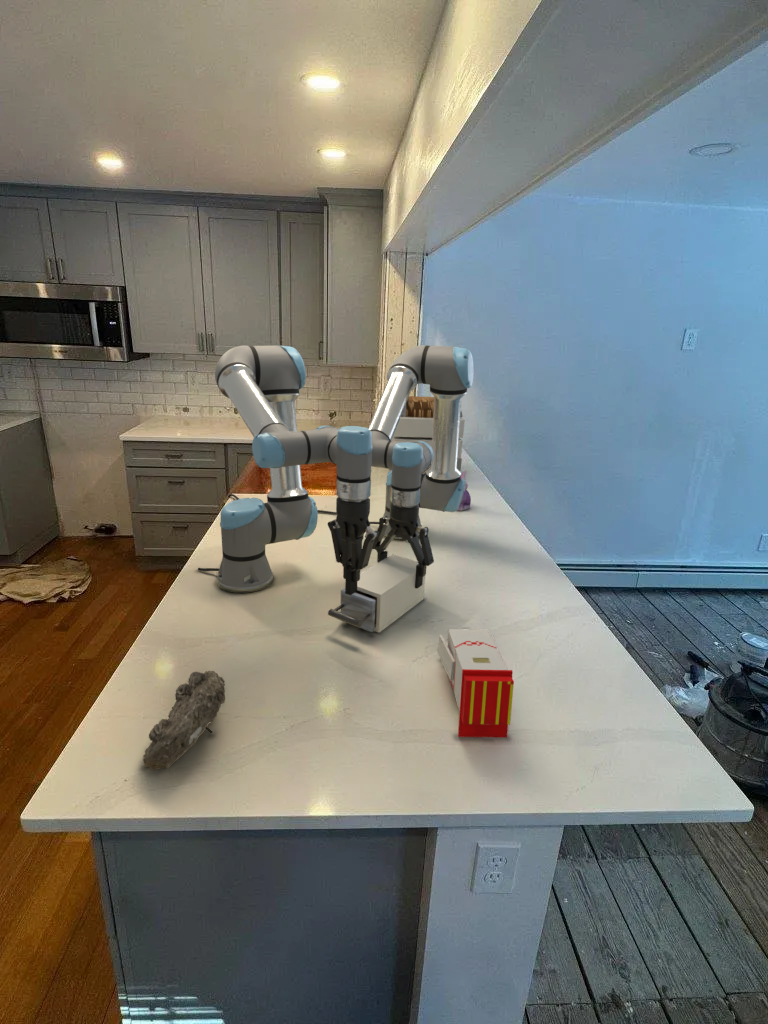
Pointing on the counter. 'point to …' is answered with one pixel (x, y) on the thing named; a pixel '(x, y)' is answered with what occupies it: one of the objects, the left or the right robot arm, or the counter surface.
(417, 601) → the cabinet
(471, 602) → the counter surface
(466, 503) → the figurine
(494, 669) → the white and red box
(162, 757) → the fossil
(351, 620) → the drawer
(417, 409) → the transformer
